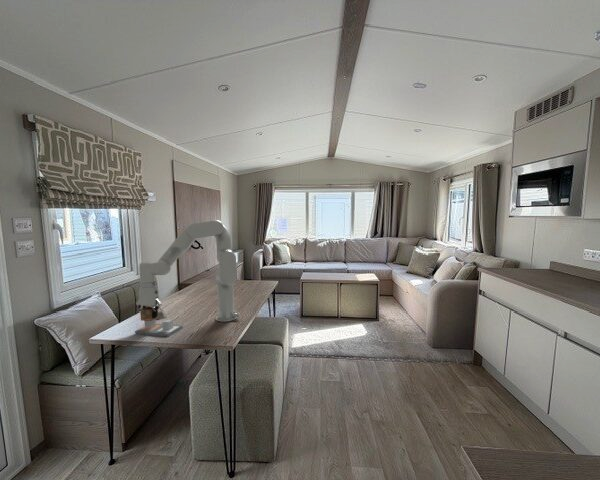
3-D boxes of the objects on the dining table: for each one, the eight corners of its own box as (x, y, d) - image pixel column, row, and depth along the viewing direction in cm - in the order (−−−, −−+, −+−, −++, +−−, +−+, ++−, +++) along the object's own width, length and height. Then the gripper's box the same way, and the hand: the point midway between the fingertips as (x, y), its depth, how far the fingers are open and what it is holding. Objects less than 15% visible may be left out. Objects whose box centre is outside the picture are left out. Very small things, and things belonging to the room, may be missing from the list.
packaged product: (166, 310, 180) (148, 313, 175) (166, 318, 181) (148, 321, 175) (162, 303, 196) (146, 306, 190) (163, 310, 196) (146, 313, 191)
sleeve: (158, 317, 162) (157, 306, 162) (150, 321, 156) (150, 310, 156) (148, 316, 163) (148, 306, 163) (140, 320, 157) (140, 309, 157)
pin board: (182, 328, 163) (182, 317, 162) (168, 336, 151) (167, 325, 151) (151, 325, 167) (150, 315, 167) (135, 334, 155) (134, 322, 155)
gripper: (166, 283, 160) (168, 316, 162) (139, 282, 164) (140, 314, 165) (157, 286, 153) (158, 320, 154) (129, 285, 157) (130, 318, 158)
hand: (149, 317), depth 160 cm, fingers closed on sleeve, 6 cm apart
